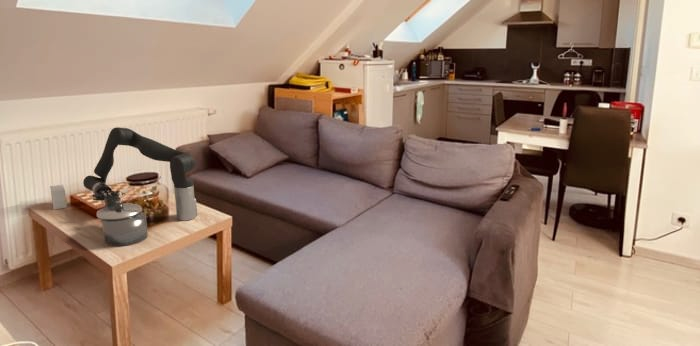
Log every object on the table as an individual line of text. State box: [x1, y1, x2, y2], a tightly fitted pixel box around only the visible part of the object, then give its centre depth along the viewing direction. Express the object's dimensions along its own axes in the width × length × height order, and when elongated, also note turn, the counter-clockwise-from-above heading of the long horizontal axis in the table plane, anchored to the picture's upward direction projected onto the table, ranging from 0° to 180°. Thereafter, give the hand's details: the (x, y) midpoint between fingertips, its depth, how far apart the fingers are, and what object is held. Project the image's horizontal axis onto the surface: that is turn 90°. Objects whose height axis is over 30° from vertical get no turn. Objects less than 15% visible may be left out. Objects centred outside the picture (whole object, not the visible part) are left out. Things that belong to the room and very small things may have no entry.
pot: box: [101, 211, 149, 247], centre depth 212 cm, size 18×18×10 cm
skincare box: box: [49, 184, 68, 210], centre depth 250 cm, size 10×6×10 cm, turn 35°
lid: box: [96, 195, 143, 221], centre depth 217 cm, size 19×24×4 cm
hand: (110, 199), depth 227 cm, fingers closed
